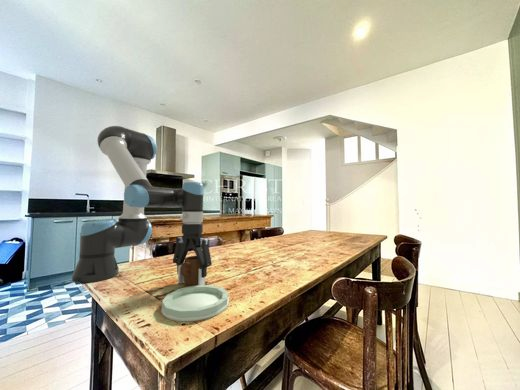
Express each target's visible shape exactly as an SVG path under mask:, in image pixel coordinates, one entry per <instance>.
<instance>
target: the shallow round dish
mask: <svg viewBox="0 0 520 390" xmlns="http://www.w3.org/2000/svg"><path fill="white" fill-rule="evenodd" d="M229 304H230V298H229V291H227V290H226V289H225V288H223V287H222V286H217V285H211V284H205V285H196V286H187V287H182V288H178V289H176V290H174V291H172V292H170V293H167V294H166V295H165V297H164V298H163V299H162V301H161V314H162V316H163V317H164V318H166V319H168V320H170V321H176V322H189V323H190V322H199V321H203V320H206V319H207V320H208V319H211V318H213V317H216V316H218V315H220V314H221V313H224V312H225V310H226V309H228V307H229Z"/></svg>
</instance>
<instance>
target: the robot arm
mask: <svg viewBox="0 0 520 390" xmlns="http://www.w3.org/2000/svg"><path fill="white" fill-rule="evenodd" d="M97 145H98V147H99V150H100V151H101V153H102V154H103V155H105V156H107V158H108V159H109V161H110V163H111V164H112V166H113V168H114V169H115V171H116V173H117V175H118V176H119V178H120V179H121V182H122V183H123V184H124V192H123V205H122V207H123V208H122V214H121V215H120V216H119V217H118V220H117V219H116V218H104V219H103V218H102V219H95V220H90V221H87V222H86V221H85V222H84V223H82V225H81V226H80V227H81V228H80V229H81V230H80V232H79V236H80V237H79V239H80V240H79V254H78V255H79V256H78V261H77V263H76V266H75V268H74V269H73V273H72V277H71V279H72V280H71V281H72V282H74V283H79V284H80V283H81V284H82V283H94V282H99V281H104V280H107V279H112V278H113V277H114V278H115V277H116V276H118V275H119V269H120V268H119V266H118V262H117V260H116V256H115V249H118V248H127V247H132V246H134V247H136V246H139V245H143V244H146V243H147V242H148V241H149V240H150V238H151V236H152V232H153V230H152V229H153V228H152V227H153V226H152V223H151V222H150V221H149V220H148V217H147V215H146V214H145V208H167V209H168V208H169V209H171V208H172V209H174V208H175V209H176V208H182V209H181V212H182V213H181V214H182V215H181V222H182V225H181V233H182V236H177V237H176V239H175V248H174V254H173V258H172V259H173V260H172V263H173V264H176V268H177V269H176V274H177V284H179V285H180V284H182V283H184V276H182V275H181V273H180V268H181V265H182V264H183V263H184V262H185V258H186V257H187V255H188V253H189V250H191V249H192V250H193V252H194V253H195V256H197V259H198V261H199V264H200V267H201V268H199V282H198V285H206V277H207V276H208V275H207V273H208V272H207V271H208V270H207V269H208V267H211V266H212V259H211V253H210V246H209V243H210V238H203V236H202V234H203V229H204V227H203V226H204V225H203V222H204V210H203V209H204V184H203V183H202V182H197V181H186V182H185V181H184V182H183V184H182V188H171V187H170V188H169V187H160V186H153V185H152V184H151V182H150V181H149V179H148V178H147V170H148V169H147V168H148V165H149V164H150V163H151V160H153V159H155V157H156V155H157V152H158V146H157V145H158V144H157V142H156V140H155V139H154V138H153V137H152V136H150V135H148V134H146V133H144V132H140V131H136V130H132V129H130V128H127V127H123V126H119V125H112V126H107V127H105V128H103V129H102V130H101V131H100V132H99V134H98V136H97ZM203 264H204V265H203Z"/></svg>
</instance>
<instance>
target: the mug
mask: <svg viewBox="0 0 520 390" xmlns="http://www.w3.org/2000/svg"><path fill="white" fill-rule="evenodd" d="M203 265H204V264H203ZM199 268H201V267H200V264H199V261H198V259H197V256H196V255H193V256H192V255H190V256H188V257H187V256H186V258H185V260H184V263H183V264H182V265H181V268H180V273H181V275H182V276H184V282H183V283H184V285H186V286H187V287H190V286H196V285H198V282H199Z"/></svg>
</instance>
